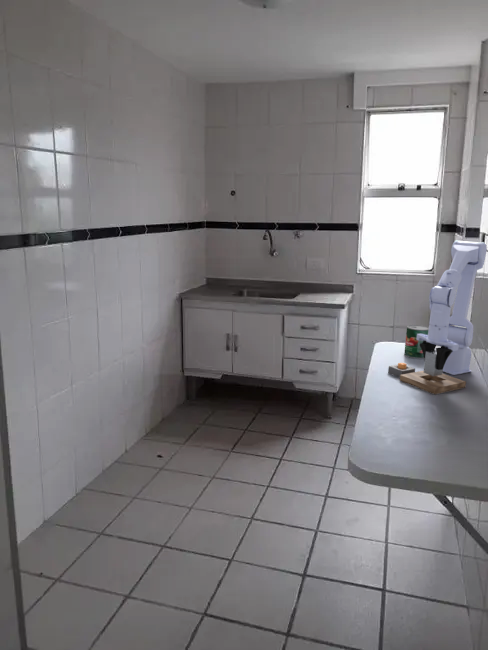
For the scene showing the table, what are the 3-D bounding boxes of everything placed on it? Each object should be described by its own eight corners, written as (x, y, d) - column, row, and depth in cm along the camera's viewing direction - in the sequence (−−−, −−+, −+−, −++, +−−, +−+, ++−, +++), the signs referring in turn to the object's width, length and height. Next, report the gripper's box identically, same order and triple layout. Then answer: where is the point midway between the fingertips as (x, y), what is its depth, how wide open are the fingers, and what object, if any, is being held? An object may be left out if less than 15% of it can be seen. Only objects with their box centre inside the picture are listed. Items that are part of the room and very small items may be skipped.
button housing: (400, 370, 188) (401, 363, 187) (414, 375, 183) (415, 368, 182) (388, 373, 184) (388, 366, 184) (401, 378, 179) (402, 371, 179)
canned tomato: (429, 356, 207) (432, 327, 205) (419, 360, 202) (423, 330, 199) (410, 351, 212) (413, 323, 210) (400, 355, 207) (403, 326, 204)
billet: (432, 371, 176) (434, 350, 175) (442, 374, 173) (444, 353, 172) (423, 372, 174) (425, 351, 173) (433, 376, 171) (436, 354, 170)
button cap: (401, 369, 185) (402, 362, 185) (407, 371, 183) (408, 364, 182) (395, 370, 184) (396, 363, 183) (401, 372, 181) (402, 365, 181)
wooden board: (429, 375, 184) (430, 369, 184) (465, 387, 172) (466, 381, 172) (399, 380, 177) (400, 374, 177) (434, 394, 165) (435, 388, 165)
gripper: (411, 321, 174) (407, 362, 177) (449, 331, 162) (444, 375, 165) (427, 319, 178) (422, 360, 181) (465, 329, 166) (459, 372, 169)
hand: (433, 367), depth 173 cm, fingers closed on billet, 4 cm apart
